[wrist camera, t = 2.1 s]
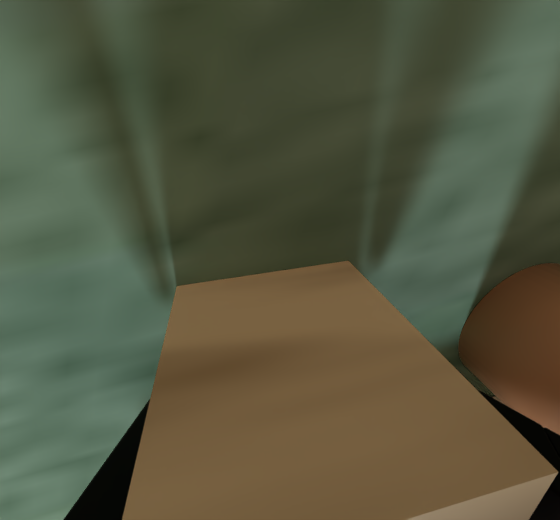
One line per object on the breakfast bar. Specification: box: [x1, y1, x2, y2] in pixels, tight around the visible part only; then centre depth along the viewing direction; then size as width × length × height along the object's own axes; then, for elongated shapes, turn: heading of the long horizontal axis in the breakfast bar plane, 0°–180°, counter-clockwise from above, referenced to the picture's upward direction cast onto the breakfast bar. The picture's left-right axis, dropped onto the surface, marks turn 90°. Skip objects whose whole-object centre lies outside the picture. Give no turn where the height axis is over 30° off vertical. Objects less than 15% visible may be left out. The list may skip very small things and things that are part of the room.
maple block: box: [122, 261, 558, 520], centre depth 7 cm, size 5×5×6 cm
